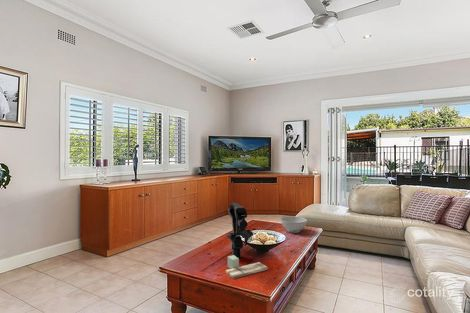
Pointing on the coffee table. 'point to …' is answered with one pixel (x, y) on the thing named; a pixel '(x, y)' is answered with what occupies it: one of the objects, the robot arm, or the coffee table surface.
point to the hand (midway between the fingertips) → (240, 246)
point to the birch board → (246, 270)
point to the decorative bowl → (293, 223)
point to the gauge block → (233, 262)
